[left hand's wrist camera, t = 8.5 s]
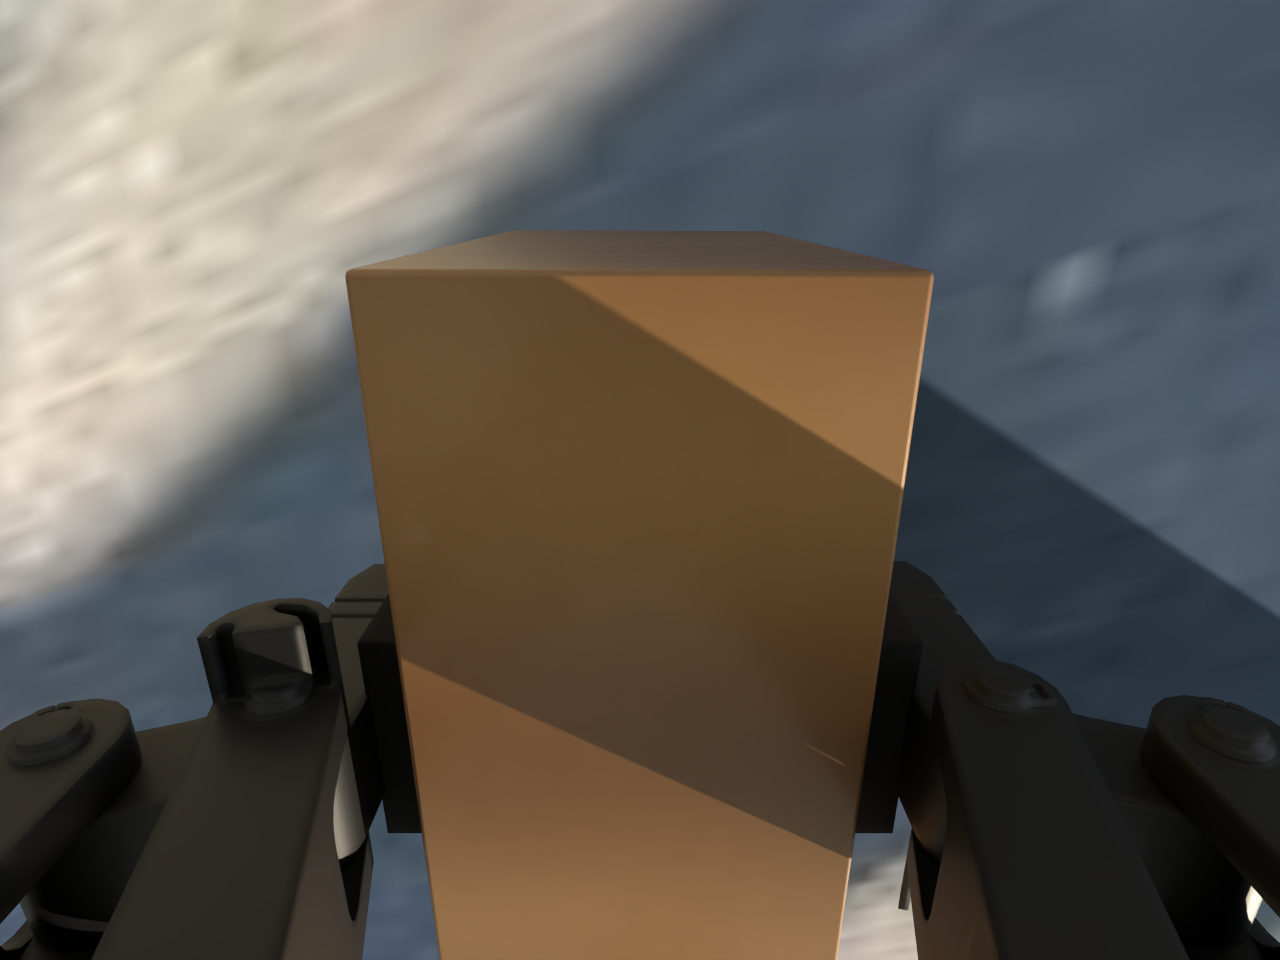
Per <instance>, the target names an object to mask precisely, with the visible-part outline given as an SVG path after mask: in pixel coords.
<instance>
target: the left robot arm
mask: <svg viewBox="0 0 1280 960" xmlns="http://www.w3.org/2000/svg"><path fill="white" fill-rule="evenodd" d="M197 640H198V644H199V648H200V652H201V656H202V660H203V664H204V668H205V672H206V676H207V680H208V684H209V688H210V692H211V696H212V700H213V705H212V707H211V709H210V711H209V713H208V715H207V717H204V718H200V719H196V720H193V721H188V722H183V723H178V724H173V725H168V726H163V727H158V728H153V729H148V730H143V731H138V732H135V730H134V727H133V723H132V720H131V717H130V713H129V710H128V709H126V708H125V707H124V706H123V705H121V704H120V703H119V702H117V701H110V700H104V699H89V700H80V701H70V702H65V703H61V704H58V705H57V706H54V705H53V706H50V707H47V708H44V709H41V710H38V711H36V712H35V713H34V714H32V715H29V716H27V717H25V718H23V719H20V720H18V721H16V722H14V723H12V724H10V725H9V726H7V727H6V728H4V729H3V730H1V731H0V924H1V923H2V921H3V920H4V919H5V918H6V917H7V916H8V915H9V914H10V913H11V911H12V910H13V909H14V908H15V907H16V906H17V905H18V904H19V902H20V905H21V907H22V909H23V912H24V914H25V917H26V919H27V921H26V922H25V923H24V924H23V925H22V926H21V928H20V929H19V930H18V931H17V932H16V933H15V935H13V936H12V937H11V938H10V939H9V940H8V941H6V942H5V943H4V944H3V945H2V946H0V960H362V954H363V946H364V937H365V929H366V921H367V912H368V904H369V895H370V887H371V879H372V870H373V862H374V861H373V854H372V847H371V841H370V835H369V828H370V826H371V824H372V821H373V819H374V817H375V815H376V812H377V810H378V808H379V805H380V803H381V801H382V799H383V805H384V812H385V818H386V824H387V830H388V833H422V830H421V823H420V816H419V809H418V801H417V794H416V787H415V780H414V772H413V765H412V758H411V750H410V743H409V736H408V729H407V721H406V714H405V707H404V700H403V692H402V685H401V678H400V670H399V663H398V656H397V649H396V641H395V634H394V627H393V620H392V612H391V605H390V598H389V590H388V583H387V576H386V569H385V564H374V565H372V566H371V567H369V568H368V569H366V570H364V571H363V572H361V573H360V574H358V575H356V576H355V577H353V578H352V579H350V580H349V581H348V582H347V584H346V585H345V586H344V588H343V589H342V590H341V591H340V593H339V594H338V595H337V597H336V598H335V602H332V603H331V604H330V606H329V607H328V608H327V607H325V606H324V605H323V604H321V603H320V602H316V601H311V600H307V599H302V598H295V599H276V600H270V601H265V602H260V603H255V604H252V605H249V606H246V607H243V608H241V609H238V610H235V611H232V612H230V613H228V614H226V615H225V616H223V617H221V618H219V619H218V620H216V621H214V622H213V623H211V624H209V625H208V626H207V628H206V629H205V630H204V631H203V632H202V633H201V634H200V635H199V636H198V637H197ZM898 796H899V798H900V801H901V803H902V805H903V807H904V810H905V812H906V814H907V817H908V819H909V821H910V824H911V826H912V829H911V835H910V841H909V847H908V852H907V858H906V864H905V870H904V875H903V881H902V887H901V893H900V900H899V907H898V909H903V910H908V908H909V903H910V897H911V902H912V910H913V919H914V927H915V936H916V944H917V952H918V960H1280V943H1279V942H1278V941H1277V940H1276V939H1275V938H1274V937H1273V936H1271V935H1270V934H1269V933H1268V932H1267V931H1266V930H1265V928H1264V927H1263V926H1262V925H1261V924H1260V923H1259V921H1258V920H1257V919H1256V918H1255V916H1256V913H1257V911H1258V909H1259V906H1260V904H1261V901H1262V899H1263V900H1264V901H1265V902H1266V903H1267V904H1268V905H1269V906H1270V907H1271V909H1272V910H1273V911H1274V912H1275V913H1276V914H1277V915H1278V916H1279V917H1280V726H1278V725H1277V724H1275V723H1274V722H1272V721H1271V720H1269V719H1267V718H1264V717H1262V716H1260V715H1258V714H1255V713H1253V712H1251V711H1249V710H1248V709H1246V708H1244V707H1242V706H1239V705H1236V704H1233V703H1230V702H1228V703H1226V702H1224V701H1223V700H1218V699H1213V698H1204V697H1195V696H1186V695H1183V696H1176V697H1169V698H1164V699H1162V700H1161V701H1160V702H1159V703H1157V704H1156V705H1155V706H1154V707H1153V709H1152V712H1151V715H1150V719H1149V722H1148V725H1147V728H1146V729H1144V728H1139V727H1134V726H1129V725H1124V724H1119V723H1114V722H1109V721H1104V720H1099V719H1094V718H1089V717H1085V716H1081V715H1077V714H1074V713H1072V712H1071V710H1070V708H1069V706H1068V704H1067V702H1066V701H1065V699H1064V698H1063V697H1062V696H1061V694H1060V693H1059V692H1058V690H1057V689H1056V688H1055V687H1054V686H1052V685H1051V684H1049V683H1048V682H1047V681H1045V680H1044V679H1042V678H1041V677H1039V676H1038V675H1036V674H1034V673H1032V672H1030V671H1027V670H1025V669H1022V668H1020V667H1018V666H1015V665H1013V664H1009V663H1004V662H1000V661H996V660H995V659H994V658H993V656H992V655H991V654H990V652H989V651H988V650H987V649H986V647H985V646H984V645H983V643H982V642H981V641H980V640H979V638H978V637H977V636H976V634H975V633H974V632H973V631H972V629H971V628H970V627H969V625H968V624H967V623H966V621H965V620H964V619H963V618H962V616H958V611H957V610H956V609H955V607H954V606H953V605H952V603H951V602H950V601H949V600H946V596H945V594H944V593H943V592H942V591H941V589H940V588H939V587H938V585H937V584H936V583H935V581H934V580H933V579H932V578H931V577H930V576H928V575H927V574H925V573H923V572H922V571H920V570H919V569H917V568H915V567H914V566H912V565H911V564H909V563H907V562H893V569H892V576H891V583H890V590H889V597H888V604H887V611H886V618H885V625H884V632H883V639H882V646H881V653H880V660H879V668H878V675H877V682H876V689H875V696H874V703H873V710H872V717H871V724H870V731H869V738H868V745H867V752H866V759H865V766H864V773H863V780H862V787H861V794H860V801H859V808H858V815H857V822H856V829H855V833H893V827H894V820H895V814H896V808H897V802H898Z"/></svg>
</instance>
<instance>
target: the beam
mask: <svg viewBox="0 0 1280 960" xmlns="http://www.w3.org/2000/svg"><path fill="white" fill-rule="evenodd" d="M345 278H346V285H347V292H348V300H349V307H350V314H351V321H352V329H353V336H354V343H355V350H356V358H357V365H358V372H359V380H360V387H361V394H362V401H363V409H364V416H365V423H366V430H367V438H368V445H369V452H370V460H371V467H372V474H373V481H374V489H375V496H376V503H377V510H378V518H379V525H380V532H381V540H382V547H383V554H384V561H385V569H386V576H387V583H388V590H389V598H390V605H391V612H392V620H393V627H394V634H395V641H396V649H397V656H398V663H399V670H400V678H401V685H402V692H403V700H404V707H405V714H406V721H407V729H408V736H409V743H410V750H411V758H412V765H413V772H414V780H415V787H416V794H417V801H418V809H419V816H420V823H421V830H422V838H423V845H424V852H425V860H426V867H427V874H428V881H429V889H430V896H431V903H432V910H433V918H434V925H435V932H436V940H437V947H438V954H439V960H837V956H838V949H839V942H840V935H841V928H842V921H843V914H844V907H845V900H846V893H847V886H848V879H849V872H850V865H851V858H852V851H853V844H854V836H855V829H856V822H857V815H858V808H859V801H860V794H861V787H862V780H863V773H864V766H865V759H866V752H867V745H868V738H869V731H870V724H871V717H872V710H873V703H874V696H875V689H876V682H877V675H878V668H879V660H880V653H881V646H882V639H883V632H884V625H885V618H886V611H887V604H888V597H889V590H890V583H891V576H892V569H893V562H894V555H895V548H896V541H897V534H898V527H899V520H900V513H901V506H902V499H903V491H904V484H905V477H906V470H907V463H908V456H909V449H910V442H911V435H912V428H913V421H914V414H915V407H916V400H917V393H918V386H919V379H920V372H921V365H922V358H923V351H924V344H925V337H926V330H927V323H928V315H929V308H930V301H931V294H932V287H933V280H934V276H933V273H932V272H930V271H928V270H925V269H921V268H917V267H912V266H908V265H904V264H900V263H896V262H891V261H887V260H883V259H879V258H874V257H870V256H866V255H862V254H858V253H853V252H849V251H845V250H841V249H837V248H832V247H828V246H824V245H820V244H815V243H811V242H807V241H803V240H799V239H794V238H790V237H786V236H782V235H778V234H773V233H769V232H765V231H509V232H504V233H500V234H496V235H492V236H488V237H483V238H479V239H475V240H471V241H467V242H462V243H458V244H454V245H450V246H446V247H441V248H437V249H433V250H429V251H425V252H420V253H416V254H412V255H408V256H404V257H399V258H395V259H391V260H387V261H383V262H378V263H374V264H370V265H366V266H362V267H357V268H353V269H350V270H348V271H347V272H346V276H345Z"/></svg>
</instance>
